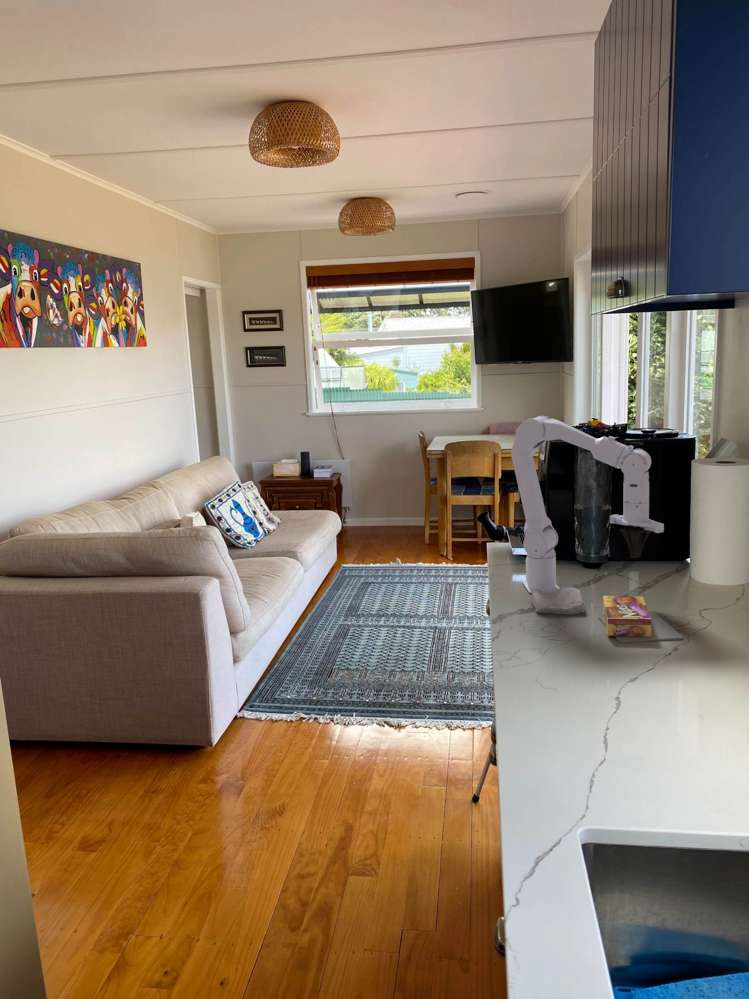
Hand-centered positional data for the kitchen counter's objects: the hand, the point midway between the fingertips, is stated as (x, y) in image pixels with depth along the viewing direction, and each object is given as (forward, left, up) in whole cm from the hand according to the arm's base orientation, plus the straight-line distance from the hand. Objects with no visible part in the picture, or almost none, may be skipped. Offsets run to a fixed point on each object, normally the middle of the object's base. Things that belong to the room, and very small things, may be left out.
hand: (635, 557), depth 178 cm
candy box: (+10, -6, -8) cm, 15 cm away
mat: (+20, -6, -10) cm, 23 cm away
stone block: (+4, -20, -11) cm, 23 cm away
